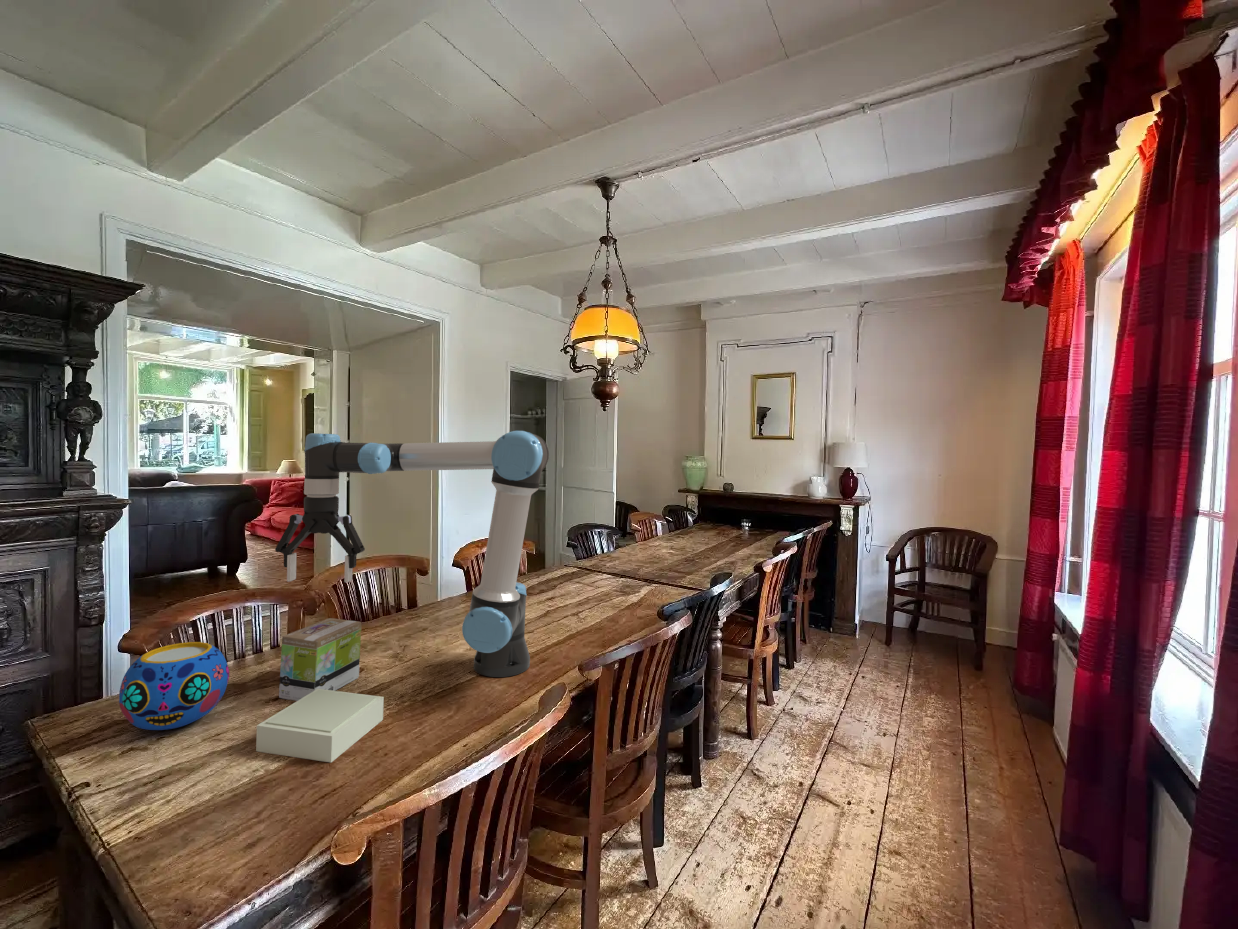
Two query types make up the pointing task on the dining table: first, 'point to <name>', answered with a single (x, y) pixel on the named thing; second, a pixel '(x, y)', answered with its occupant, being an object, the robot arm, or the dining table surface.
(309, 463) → the robot arm
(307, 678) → the tea box
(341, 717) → the block
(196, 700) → the ceramic pot
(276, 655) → the dining table surface
